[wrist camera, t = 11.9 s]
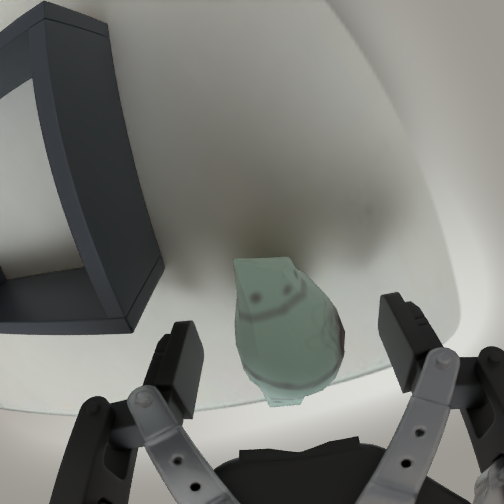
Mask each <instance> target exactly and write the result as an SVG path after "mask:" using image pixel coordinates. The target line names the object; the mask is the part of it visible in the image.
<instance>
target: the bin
mask: <svg viewBox="0 0 504 504" xmlns="http://www.w3.org/2000/svg"><path fill="white" fill-rule="evenodd" d="M30 78H32V79H33V86H34V93H35V99H36V105H37V110H38V116H39V121H40V126H41V130H42V135H43V139H44V144H45V148H46V152H47V156H48V160H49V164H50V167H51V171H52V175H53V178H54V182H55V185H56V188H57V192H58V195H59V198H60V201H61V204H62V207H63V210H64V213H65V216H66V219H67V222H68V225H69V227H70V230H71V233H72V236H73V238H74V241H75V243H76V246H77V249H78V251H79V254H80V256H81V259H82V261H83V263H84V266H85V267H84V268H78V269H72V270H66V271H59V272H53V273H47V274H41V275H35V276H29V277H23V278H17V279H11V280H6V278H5V276H4V274H3V272H2V270H1V267H0V334H27V335H100V334H129V333H133V332H134V330H135V328H136V326H137V324H138V322H139V320H140V317H141V315H142V313H143V311H144V309H145V307H146V305H147V303H148V301H149V299H150V297H151V295H152V293H153V291H154V289H155V287H156V285H157V283H158V281H159V279H160V277H161V275H162V273H163V271H164V269H165V267H164V264H163V261H162V258H161V256H160V251H159V248H158V245H157V242H156V239H155V236H154V232H153V229H152V226H151V222H150V219H149V216H148V212H147V209H146V206H145V202H144V198H143V195H142V191H141V188H140V184H139V180H138V177H137V173H136V169H135V165H134V161H133V157H132V153H131V149H130V145H129V141H128V136H127V132H126V127H125V123H124V118H123V114H122V109H121V104H120V99H119V94H118V89H117V84H116V78H115V72H114V67H113V61H112V54H111V48H110V41H109V33H108V25H107V24H106V23H104V22H101V21H99V20H96V19H94V18H92V17H89V16H86V15H84V14H81V13H79V12H76V11H73V10H71V9H68V8H65V7H62V6H59V5H56V4H53V3H50V2H47V1H43V2H41V3H39V4H38V5H36V6H35V7H33V8H32V9H31V10H29V11H28V12H26V13H25V14H23V15H22V16H21V17H19V18H18V19H17V20H15V21H14V22H13V23H11V24H10V25H9V26H7V27H6V28H5V29H4V30H2V31H1V32H0V99H1V98H2V97H3V96H5V95H6V94H8V93H9V92H10V91H12V90H13V89H15V88H16V87H18V86H19V85H21V84H22V83H24V82H25V81H27V80H29V79H30Z"/></svg>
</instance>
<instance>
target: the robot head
mask: <svg viewBox="0 0 504 504" xmlns="http://www.w3.org/2000/svg"><path fill="white" fill-rule="evenodd" d="M233 263H234V271H235V280H236V289H237V302H236V314H235V335H236V345H237V348H238V351H239V355H240V358H241V362H242V365H243V369H244V370H245V372H246V374H247V375H248V377H249V379H250V380H251V381H252V382H254V383H255V384H256V385H258V387H259V388H260V389H261V390H262V392H263V393H264V396H265V398H266V400H267V402H268V404H269V407H280V406H291V405H300V404H301V403H302V401H303V399H304V397H305V396H309V395H311V394H314V393H317V392H319V391H322V390H323V389H325V388H326V387H327V386H328V385H329V384H330V383H331V382H332V381H333V380H334V379H335V378H336V375H337V373H338V370H339V368H340V365H341V362H342V359H343V357H344V340H345V331H344V328H343V325H342V323H341V320H340V317H339V315H338V312H337V309H336V308H335V306H334V305H333V303H332V302H331V301H330V299H329V298H328V296H327V295H326V294H325V293H324V292H323V291H322V290H321V289H320V288H319V287H318V286H317V285H316V284H315V283H314V282H313V281H312V280H311V279H310V278H309V277H308V276H307V275H306V274H305V273H304V272H302V271H299V270H297V269H296V267H295V266H294V264H293V262H292V261H291V259H290V257H272V258H247V259H233Z"/></svg>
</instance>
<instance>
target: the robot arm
mask: <svg viewBox="0 0 504 504" xmlns="http://www.w3.org/2000/svg"><path fill="white" fill-rule="evenodd" d="M378 330H379V335H380V338H381V340H382V342H383V345H384V347H385V349H386V352H387V354H388V357H389V359H390V362H391V364H392V367H393V369H394V372H395V374H396V377H397V379H398V382H399V384H400V387H401V390H402V392H403V393H406V392H410V391H412V396H411V398H410V400H409V403H408V405H407V408H406V410H405V412H404V415H403V417H402V419H401V421H400V423H399V425H398V428H397V430H396V432H395V434H394V436H393V438H392V440H391V442H390V444H389V446H388V448H387V449H385V448H382V447H380V446H376V445H372V444H365V443H360V442H359V438H358V436H357V437H352V438H346V439H341V440H335V441H329V442H327V443H324V444H322V445H319V446H316V447H314V448H311V449H308V450H305V451H303V452H291V451H282V450H275V449H255V450H240V451H239V458H235V459H233V460H230V461H227V462H225V463H223V464H222V465H220V466H218V467H217V468H215V469H214V470H213V469H212V467H211V466H210V465H209V463H208V462H207V461H206V459H205V458H204V457H203V455H202V454H201V453H200V451H199V450H198V449H197V447H196V446H195V444H194V443H193V441H192V440H191V439H190V437H189V436H188V434H187V433H186V431H185V430H184V429H183V427H182V424H183V419H193V414H194V408H195V403H196V397H197V392H198V387H199V381H200V376H201V371H202V366H203V361H204V350H203V346H202V343H201V340H200V338H199V335H198V332H197V330H196V327H195V324H194V322H193V321H180V322H175V323H174V325H173V328H172V331H171V334H165V335H164V336H163V337H162V338H161V340H160V341H159V342H158V344H157V347H156V349H155V353H154V355H153V358H152V360H151V363H150V366H149V369H148V372H147V374H146V377H145V380H144V383H143V386H141V387H138V388H136V389H135V390H134V391H132V392H131V394H130V395H129V397H128V399H127V400H123V401H119V402H115V403H109V402H108V401H107V400H106V399H105V398H104V397H101V396H95V397H92V398H90V399H88V400H87V401H85V402H84V403H83V405H82V406H81V409H80V411H79V414H78V416H77V419H76V422H75V425H74V428H73V430H72V433H71V436H70V438H69V441H68V445H67V447H66V450H65V453H64V456H63V460H62V462H61V465H60V469H59V472H58V475H57V478H56V482H55V485H54V489H53V492H52V496H51V500H50V503H49V504H128V500H129V494H130V488H131V483H132V477H133V471H134V467H135V462H136V457H137V452H138V447H143V446H144V447H145V449H146V451H147V453H148V455H149V457H150V458H151V460H152V462H153V464H154V465H155V467H156V469H157V471H158V473H159V474H160V476H161V478H162V480H163V481H164V483H165V485H166V486H167V488H168V490H169V491H170V493H171V494H172V496H173V497H174V499H175V501H176V502H177V504H471V503H470V502H469V501H467V500H466V499H464V498H462V497H460V496H459V495H457V494H455V493H454V492H452V491H450V490H449V489H447V488H445V487H444V486H442V485H441V484H439V483H437V482H436V481H434V480H433V479H431V478H429V477H428V476H426V475H427V473H428V471H429V468H430V466H431V464H432V461H433V459H434V456H435V453H436V451H437V448H438V446H439V443H440V440H441V437H442V435H443V432H444V429H445V426H446V423H447V419H448V416H449V413H450V409H460V411H461V414H462V417H463V419H464V422H465V425H466V427H467V430H468V433H469V436H470V439H471V442H472V445H473V448H474V451H475V455H476V458H477V461H478V464H479V468H480V471H481V475H480V476H479V477H478V479H477V481H476V483H475V488H474V489H475V490H474V491H475V498H474V501H473V504H504V351H503V350H502V349H500V348H498V347H493V346H490V347H486V348H484V349H483V350H481V352H480V354H479V356H478V357H459V356H458V355H457V354H456V352H454V351H453V350H451V349H449V348H444V347H443V345H442V344H441V342H440V340H439V339H438V337H437V335H436V333H435V332H434V330H433V329H432V327H431V325H430V324H429V322H428V320H427V319H426V317H425V316H424V314H423V312H422V311H421V309H420V308H419V307H418V306H416V305H415V304H414V303H412V302H411V301H410V302H404V300H403V298H402V297H401V295H400V294H399V292H395V293H389V294H384V295H381V297H380V307H379V318H378Z"/></svg>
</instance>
